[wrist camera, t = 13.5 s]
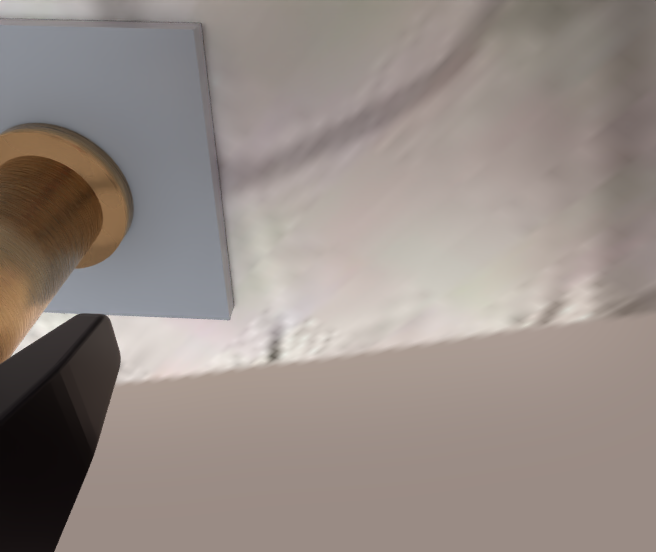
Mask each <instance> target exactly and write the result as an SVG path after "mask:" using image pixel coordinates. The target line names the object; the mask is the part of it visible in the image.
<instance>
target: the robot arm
mask: <svg viewBox="0 0 656 552" xmlns="http://www.w3.org/2000/svg"><path fill="white" fill-rule="evenodd" d="M120 360H121V357H120V351H119V347H118V344H117V341H116V337H115V334H114V330H113V327H112V324H111V321H110V319H109V318H108V316H106V315H104V314H90V313H82V314H78V315H76V316H74V317H73V318H71V319H69V320H68V321H66V322H65V323H63V324H62V325H60V326H59V327H57V328H55V329H54V330H52V331H51V332H49V333H48V334H46V335H44V336H43V337H41V338H40V339H38V340H37V341H35V342H33V343H32V344H30V345H29V346H27V347H26V348H24V349H23V350H21V351H19V352H18V353H16V354H15V355H13V356H12V357H10V358H8V359H7V360H5V361H4V362H2V363H1V364H0V552H54V551H55V549H56V546H57V544H58V541H59V539H60V537H61V534H62V531H63V529H64V527H65V525H66V522H67V520H68V517H69V515H70V513H71V510H72V508H73V505H74V503H75V501H76V498H77V495H78V493H79V491H80V489H81V486H82V484H83V481H84V479H85V476H86V474H87V472H88V469H89V467H90V464H91V461H92V459H93V456H94V453H95V450H96V447H97V444H98V441H99V437H100V434H101V430H102V427H103V423H104V420H105V417H106V413H107V410H108V406H109V403H110V399H111V395H112V392H113V389H114V385H115V382H116V379H117V375H118V372H119V368H120Z"/></svg>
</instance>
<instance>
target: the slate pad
mask: <svg viewBox="0 0 656 552" xmlns="http://www.w3.org/2000/svg"><path fill="white" fill-rule="evenodd" d="M26 123H46V124H52V125H57V126H61V127H64V128H67V129H69V130H72V131H74V132H77V133H79V134H80V135H82V136H84V137H86V138H88V139H89V140H91V141H92V142H94V143H95V144H96V145H98V146H99V147H100V148H101V149H103V150H104V151H105V152H106V153H107V154H108V155H109V156H110V157H111V158H112V159H113V161H114V162H115V163H116V164H117V166H118V167H119V168H120V170H121V171H122V173H123V175H124V176H125V178H126V180H127V182H128V185H129V187H130V190H131V193H132V198H133V206H134V212H133V219H132V223H131V226H130V228H129V230H128V232H127V234H126V235H125V237H124V238H123V240H122V241H121V243H120V245H119V246H118V247H117V249H116V250H115V252H114V253H113V254H112V255H111V256H110V257H108V258H107V259H105V260H104V261H102V262H100V263H98V264H96V265H93V266H90V267H86V268H80V269H74V270H73V272H72V273H71V274H70V276H69V277H68V278H67V280H66V281H65V283H64V284H63V285H62V287H61V288H60V289H59V291H58V292H57V294H56V295H55V296H54V298H53V299H52V300H51V302H50V303H49V304H48V306H47V307H46V309H45V310H44V311H43V312H51V313H74V314H82V313H90V314H104V315H122V316H145V317H169V318H193V319H216V320H230V317H231V314H232V311H233V308H234V301H233V293H232V284H231V276H230V267H229V258H228V250H227V241H226V233H225V224H224V215H223V207H222V198H221V189H220V181H219V172H218V164H217V155H216V146H215V138H214V129H213V121H212V112H211V103H210V95H209V86H208V78H207V69H206V60H205V52H204V43H203V34H202V26H201V23H179V22H135V21H92V20H49V19H5V18H0V133H2V132H4V131H5V130H7V129H9V128H11V127H14V126H17V125H21V124H26Z"/></svg>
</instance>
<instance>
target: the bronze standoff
mask: <svg viewBox="0 0 656 552" xmlns="http://www.w3.org/2000/svg"><path fill="white" fill-rule="evenodd" d="M133 212H134V206H133V198H132V193H131V190H130V187H129V185H128V182H127V180H126V178H125V176H124V175H123V173H122V171H121V170H120V168H119V167H118V166H117V164H116V163H115V162H114V161H113V159H112V158H111V157H110V156H109V155H108V154H107V153H106V152H105V151H104V150H103V149H101V148H100V147H99V146H98V145H96V144H95V143H94V142H92V141H91V140H89V139H88V138H86V137H84V136H82V135H80V134H79V133H77V132H74V131H72V130H69V129H67V128H64V127H61V126H57V125H52V124H46V123H26V124H21V125H17V126H14V127H11V128H9V129H7V130H5V131H4V132H2V133H0V364H1V363H2V362H4V361H5V360H7V359H8V358H10V356H11V355H12V354H13V352H14V351H15V350H16V348H17V347H18V345H19V344H20V343H21V341H22V340H23V339H24V337H25V336H26V335H27V333H28V332H29V330H30V329H31V328H32V326H33V325H34V324H35V322H36V321H37V320H38V318H39V317H40V315H41V314H42V313H43V311H44V310H45V309H46V307H47V306H48V304H49V303H50V302H51V300H52V299H53V298H54V296H55V295H56V294H57V292H58V291H59V289H60V288H61V287H62V285H63V284H64V283H65V281H66V280H67V278H68V277H69V276H70V274H71V273H72V272H73V270H74V269H80V268H86V267H90V266H93V265H96V264H98V263H100V262H102V261H104V260H105V259H107V258H108V257H110V256H111V255H112V254H113V253H114V252H115V250H116V249H117V247H118V246H119V245H120V243H121V241H122V240H123V238H124V237H125V235H126V234H127V232H128V230H129V228H130V226H131V223H132V219H133Z"/></svg>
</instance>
